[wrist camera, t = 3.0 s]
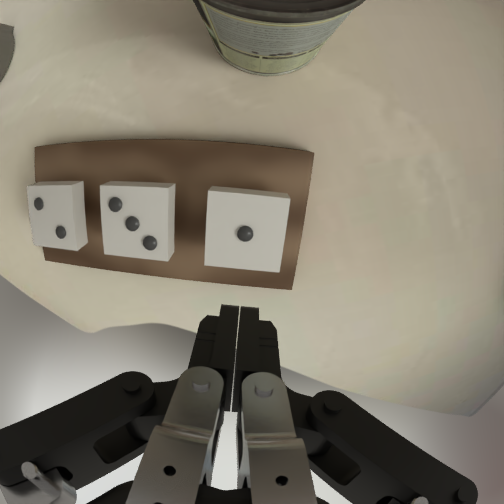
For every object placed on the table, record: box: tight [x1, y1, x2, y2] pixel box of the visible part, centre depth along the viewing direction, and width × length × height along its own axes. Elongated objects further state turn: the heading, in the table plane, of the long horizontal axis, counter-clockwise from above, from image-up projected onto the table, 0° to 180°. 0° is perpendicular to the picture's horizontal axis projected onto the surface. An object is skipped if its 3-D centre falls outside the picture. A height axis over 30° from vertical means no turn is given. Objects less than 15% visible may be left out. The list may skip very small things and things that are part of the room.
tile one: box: [204, 186, 290, 272], centre depth 22 cm, size 6×6×2 cm
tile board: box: [35, 139, 314, 290], centre depth 25 cm, size 13×28×2 cm, turn 84°
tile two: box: [27, 181, 88, 251], centre depth 22 cm, size 6×6×2 cm
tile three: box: [100, 181, 176, 261], centre depth 22 cm, size 6×6×2 cm
